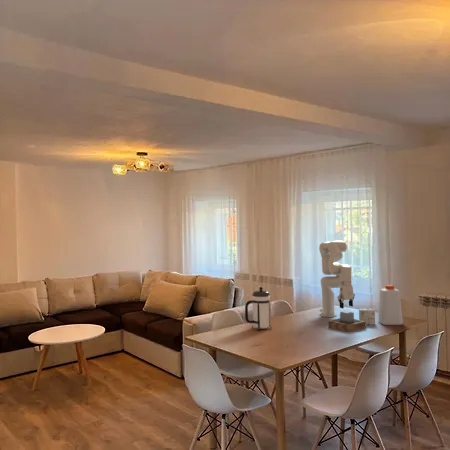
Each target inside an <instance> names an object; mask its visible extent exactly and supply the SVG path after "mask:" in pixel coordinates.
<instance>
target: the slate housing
mask: <svg viewBox="0 0 450 450" xmlns="http://www.w3.org/2000/svg"><path fill="white" fill-rule="evenodd" d="M354 316H355V314H354V312H353V311H349V310H348V311H346V310H343V311H340V312H339V317H340V320H342V321H347V322H352V321H354V319H355V317H354Z"/></svg>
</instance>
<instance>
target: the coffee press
mask: <svg viewBox="0 0 450 450" xmlns="http://www.w3.org/2000/svg"><path fill="white" fill-rule="evenodd" d="M251 296H252V300H248V301H247V302H246V303H245V305H244V320H245V321H246V322H247V323H249V324H252V326H251V329H254V328H256V329H257V332H260V331H261V329H269V330H270V331H271V330H272V329H273V328H272V326H271V306H270V305H271V299H270V298H272V296H271V294H270V292H269V291H268V290H265V289H264V288H263V287H259V289H258V290H254V291H253V292H252V294H251ZM250 304H252V320H249V305H250Z"/></svg>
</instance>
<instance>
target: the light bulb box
mask: <svg viewBox="0 0 450 450" xmlns="http://www.w3.org/2000/svg"><path fill="white" fill-rule="evenodd" d="M358 320H361V321H365V323H366V325H367V326H368V324H369V325H374V326H375V325H376V310H375V309H374V308H358Z"/></svg>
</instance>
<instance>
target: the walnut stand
mask: <svg viewBox="0 0 450 450" xmlns="http://www.w3.org/2000/svg"><path fill="white" fill-rule="evenodd" d="M328 329H333V330H336V331H337V330H338V331H341V332H346V333H351V332H355V331H360V330H361V331H362V330H365V329H366V323H365V321H361V320H359V319H357V318H356V319H355V318H354V321H352V322H347V321H342V320H340V318H334V319H331V320H328Z"/></svg>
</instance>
